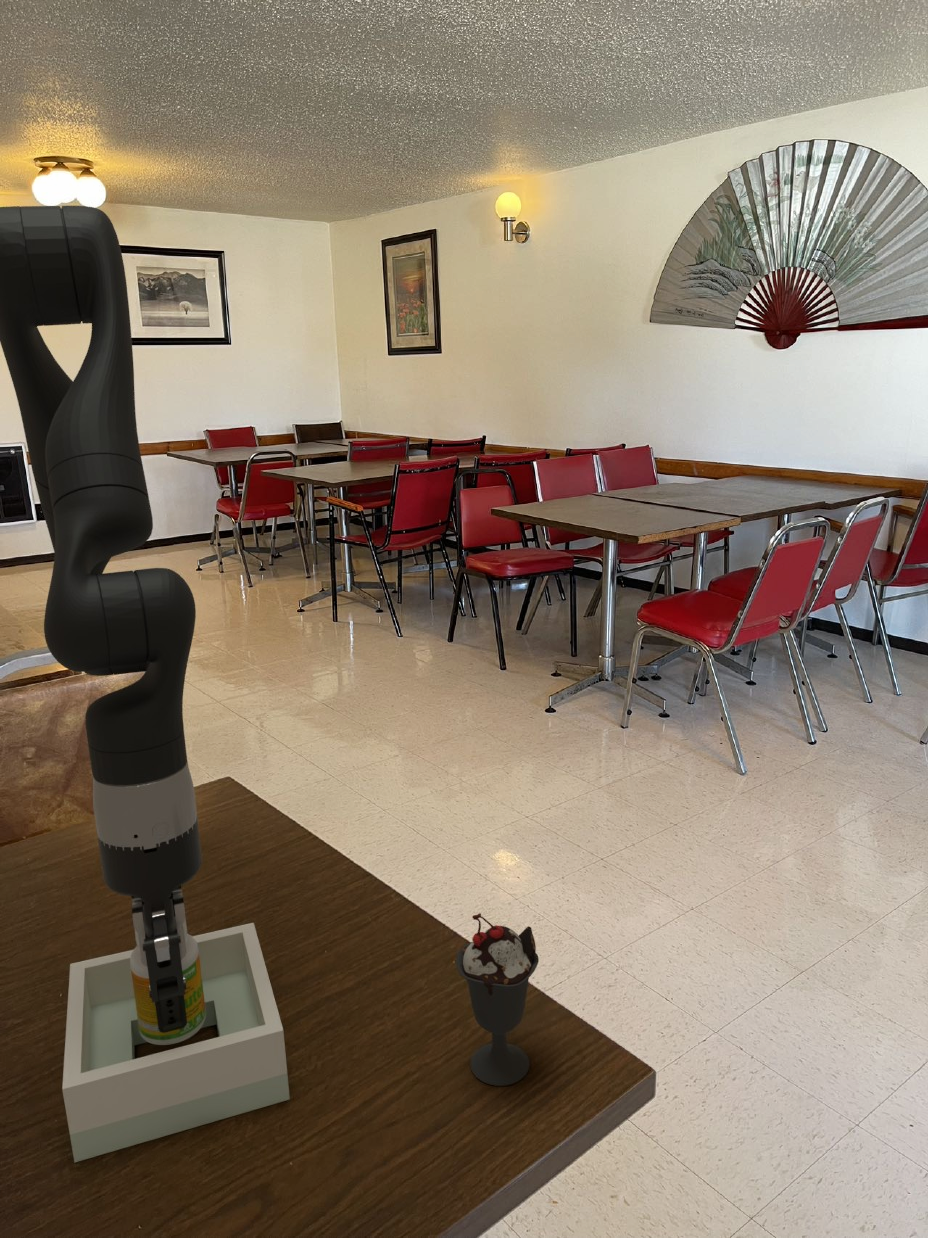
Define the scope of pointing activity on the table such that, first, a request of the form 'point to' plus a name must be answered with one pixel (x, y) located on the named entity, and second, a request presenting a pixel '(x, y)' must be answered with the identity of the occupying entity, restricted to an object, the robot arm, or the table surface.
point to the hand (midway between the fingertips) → (170, 1004)
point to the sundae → (498, 997)
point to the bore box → (178, 1078)
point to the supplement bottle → (191, 997)
